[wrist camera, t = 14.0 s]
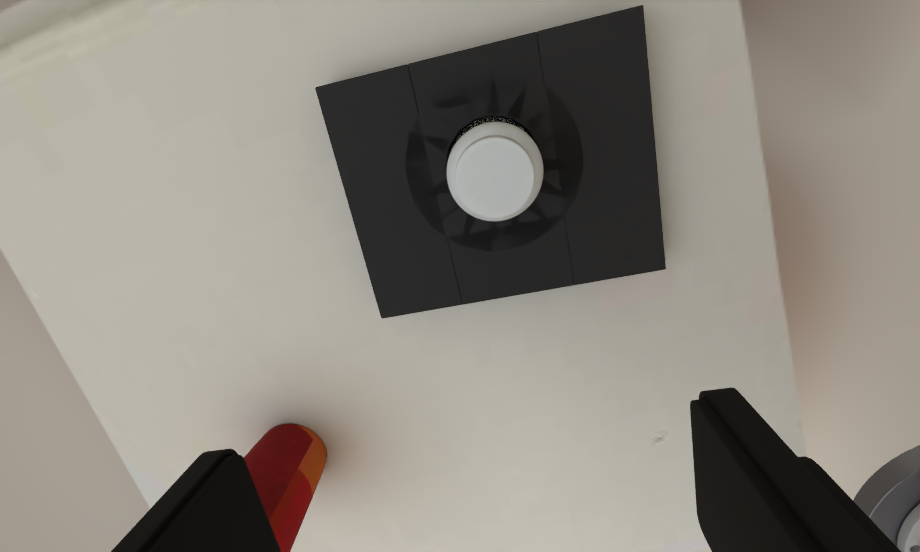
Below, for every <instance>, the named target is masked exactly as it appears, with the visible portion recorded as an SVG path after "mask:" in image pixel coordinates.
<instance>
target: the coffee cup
mask: <svg viewBox="0 0 920 552" xmlns="http://www.w3.org/2000/svg"><path fill="white" fill-rule="evenodd" d="M326 458H327V454H326V449H325V446H324V444H323V442H322V441H321V439H320V438H319V437H318V436H317V435H316V434H315V433H314V432H313V431H311V430H309V429H308V428H306V427H303V426H300V425H296V424H282V425H278V426H275V427H274V428H272V429H271V430H269V431H268V432H267V433H266V434H265V435H264V436H263V437H262V438H261V439H260V440H259V441H258V443H257V444H256V445H255V446H254V447H253V448H252V449H251V450H250V452H249V453H248V454H247V455H246V456H245V457H244V460H245V462H246V465H247V467H248V470H249V472H250V475H251V477H252V480H253V482H254V484H255V487H256V489H257V492H258V494H259V497H260V499H261V502H262V504H263V507H264V509H265V512H266V514H267V517H268V519H269V522H270V524H271V527H272V529H273V532H274V534H275V537H276V539H277V542H278V544H279V547H280V550H281V552H290V550H291V548H292V546H293V543H294V541H295V538H296V536H297V534H298V531H299V529H300V526H301V524H302V521H303V519H304V517H305V514H306V512H307V509H308V507H309V504H310V502H311V500H312V497H313V495H314V492H315V490H316V487H317V485H318V482H319V480H320V477H321V475H322V472H323V469H324V466H325V463H326Z"/></svg>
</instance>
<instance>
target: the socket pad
mask: <svg viewBox="0 0 920 552" xmlns="http://www.w3.org/2000/svg"><path fill="white" fill-rule="evenodd" d="M316 92H317V96H318V99H319V103H320V106H321V110H322V113H323V117H324V120H325V124H326V127H327V131H328V134H329V138H330V141H331V144H332V148H333V151H334V155H335V158H336V162H337V165H338V169H339V172H340V176H341V179H342V183H343V186H344V190H345V193H346V197H347V200H348V204H349V207H350V210H351V214H352V217H353V221H354V224H355V228H356V231H357V235H358V238H359V242H360V245H361V249H362V252H363V256H364V259H365V263H366V266H367V269H368V273H369V276H370V280H371V283H372V287H373V290H374V294H375V297H376V301H377V304H378V308H379V311H380V315H381V318H387V317H393V316H399V315H405V314H410V313H416V312H422V311H428V310H433V309H439V308H445V307H450V306H456V305H462V303H463V304H468V303H474V302H480V301H485V300H491V299H497V298H503V297H508V296H514V295H520V294H525V293H531V292H537V291H543V290H548V289H554V288H560V287H566V286H571V285H577V284H583V283H589V282H595V281H600V280H606V279H612V278H618V277H623V276H629V275H635V274H640V273H646V272H652V271H658V270H663V269H666V267H665V255H664V244H663V232H662V220H661V209H660V197H659V186H658V174H657V162H656V151H655V139H654V127H653V116H652V104H651V93H650V81H649V69H648V58H647V46H646V34H645V23H644V11H643V5H641V6H637V7H633V8H629V9H625V10H621V11H617V12H613V13H609V14H605V15H601V16H597V17H593V18H589V19H585V20H581V21H577V22H573V23H569V24H565V25H561V26H557V27H553V28H549V29H545V30H541V31H538V32H537V33H536V32H534V33H530V34H526V35H522V36H518V37H514V38H510V39H506V40H502V41H498V42H494V43H490V44H486V45H482V46H478V47H474V48H470V49H466V50H462V51H458V52H454V53H450V54H446V55H442V56H438V57H434V58H430V59H426V60H422V61H418V62H414V63H410V64H408V65H403V66H399V67H395V68H391V69H387V70H383V71H379V72H375V73H371V74H367V75H363V76H359V77H355V78H351V79H347V80H343V81H339V82H335V83H331V84H327V85H323V86H319V87H316ZM492 116H496V117H501V118H506V119H511V120H513V121H514V122H516V123H517V124H518V125H520V126H521V127H523V128H524V129H526V131H527V132H528V134H529V136H530V137H531V138H532V139H533V141H534V142H535V144H536V145H537V147H538V149H539V151H540V154H541V157H542V161H543V171H544V173H543V181H542V185H541V188H540V191H539V193H538V195H537V197H536V198H535V200H534V201H533V202H532V204H531V205H530V206H529V207H528V208H527V209H526V210H524V211H523V212H522V213H520V214H519V215H517V216H515V217H513V218H510V219H507V220H503V221H485V220H481V219H478V218H475V217H473V216H472V215H470V214H468V213H467V212H465V211H464V210H463V209H462V208H461V207H460V206H459V205H458V204H457V202H456V201H455V200H454V198H453V196H452V194H451V192H450V189H449V186H448V182H447V163H448V159H449V155H450V153H451V150H452V145H453V144H454V142H455V141H456V139H457V137H458V136H459V134H460V132H461V131H462V130H463V129H465V128H466V127H467V126H469V125H470V124H471V123H473V122H474V121H476V120H479V119H483V118H487V117H492Z"/></svg>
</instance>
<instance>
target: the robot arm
mask: <svg viewBox="0 0 920 552" xmlns="http://www.w3.org/2000/svg"><path fill="white" fill-rule="evenodd" d="M690 411H691V427H692V442H693V458H694V473H695V489H696V504H697V515H698V520H699V523H700V527H701V529H702V532H703V534H704V536H705V538H706V540H707V542H708V544H709V546H710V548H711V550H712V552H920V503H919V504H918V505H917V506H916V507H915V508H914V509H913V510H912V511H911V512H910V513H909V515H908V516H907V517H906V519H905V520H904V522H903V524H902V526H901V528H900V531H899V533H898V539H897V547H896V546H895V545H894V544H893V543H892V542H891V541H890V539H889V538H888V537H887V536H886V535H885V534H884V533H883V532H882V531H881V530H880V529H879V528H878V527H877V526H876V525H875V524H874V523H873V522H872V520H871V519H870V518H869V517H868V516H867V515H866V514H865V513H864V512H863V511H862V510H861V509H860V508H859V507H858V506H857V505H856V504H855V503H854V501H853V500H852V499H851V498H850V497H849V496H848V495H847V494H846V493H845V492H844V491H843V490H842V489H841V488H840V487H839V486H838V485H837V484H836V483H835V481H834V480H833V479H832V478H831V477H830V476H829V475H828V474H827V473H826V472H825V471H824V470H823V469H822V468H821V467H820V466H819V465H818V464H817V463H816V462H815V461H813V460H812V459H810V458H808V457H797V456H796V455H795V454H794V452H793V451H792V450H791V449H790V448H789V447H788V446H787V445H786V444H785V443H784V441H783V440H782V439H781V438H780V437H779V436H778V435H777V434H776V433H775V431H774V430H773V429H772V428H771V427H770V426H769V425H768V424H767V423H766V422H765V420H764V419H763V418H762V417H761V416H760V415H759V414H758V413H757V412H756V410H755V409H754V408H753V407H752V406H751V405H750V404H749V403H748V402H747V401H746V399H745V398H744V397H743V396H742V395H741V394H740V393H739V392H738V391H737V390H736V389H735V388H725V389H717V390H708V391H702V392H700V395H699V400H692V401H691V404H690ZM111 552H281V550H280V547H279V544H278V542H277V539H276V537H275V534H274V532H273V529H272V527H271V524H270V522H269V519H268V517H267V514H266V512H265V509H264V507H263V504H262V502H261V499H260V497H259V494H258V492H257V489H256V487H255V484H254V482H253V480H252V477H251V475H250V472H249V470H248V467H247V465H246V462H245V460H244V458H243V457H242V456H241V455H238V454H237V452H236V451H234V450H233V449H224V450H216V451H208V452H205V453H203V454H201V455H200V456H199V457H198V458H197V459H196V460H195V461H194V462H193V463H192V465H191V466H190V467H189V468H188V469H187V470H186V471H185V472H184V473H183V474H182V475H181V476H180V478H179V479H178V480H177V481H176V482H175V483H174V484H173V485H172V486H171V487H170V488H169V489H168V491H167V492H166V493H165V494H164V495H163V496H162V497H161V498H160V499H159V500H158V501H157V502H156V504H155V505H154V506H153V507H152V508H151V509H150V510H149V511H148V512H147V513H146V514H145V515H144V517H143V518H142V519H141V520H140V521H139V522H138V523H137V524H136V526H134V528H132V530H131V531H130V532H129V533H128V534H127V535H126V536H125V537H124V538H123V539H122V540H121V542H120V543H119V544H118V545H117V546H116V547H115V548H114V549H113V550H112V551H111Z"/></svg>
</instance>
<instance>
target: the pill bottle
mask: <svg viewBox="0 0 920 552" xmlns="http://www.w3.org/2000/svg"><path fill="white" fill-rule="evenodd" d="M543 173H544V171H543V161H542V157H541V154H540V151H539V149H538V147H537V145H536V144H535V142H534V141H533V139H532V138H531V137H530V136H529V135H528V134H527V133H526V132H524V131H523V130H522V129H520V128H518V127H517V126H515V125H512V124H509V123H504V122H487V123H483V124H480V125H478V126H476V127H474V128H472V129H471V130H469V131H468V132H466V133H465V134H464V135H463V136H462V137H461V138H460V139H459V140H458V141H457V142H456V143H455V145H454V147H453V148H452V150H451V153H450V155H449V159H448V163H447V182H448V186H449V189H450V192H451V194H452V196H453V198H454V200H455V201H456V202H457V204H458V205H459V206H460V207H461V208H462V209H463V210H464V211H465V212H467V213H468V214H470V215H472V216H473V217H475V218H478V219H481V220H485V221H503V220H507V219H510V218H513V217H515V216H517V215H519V214H520V213H522V212H523V211H524V210H526V209H527V208H528V207H529V206H530V205H531V204H532V202H533V201H534V200H535V198H536V197H537V195H538V193H539V191H540V188H541V185H542V181H543Z"/></svg>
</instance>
